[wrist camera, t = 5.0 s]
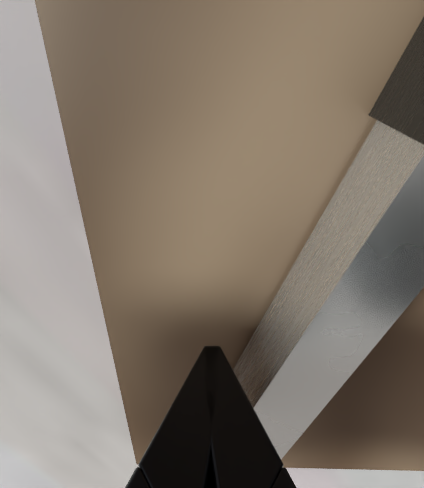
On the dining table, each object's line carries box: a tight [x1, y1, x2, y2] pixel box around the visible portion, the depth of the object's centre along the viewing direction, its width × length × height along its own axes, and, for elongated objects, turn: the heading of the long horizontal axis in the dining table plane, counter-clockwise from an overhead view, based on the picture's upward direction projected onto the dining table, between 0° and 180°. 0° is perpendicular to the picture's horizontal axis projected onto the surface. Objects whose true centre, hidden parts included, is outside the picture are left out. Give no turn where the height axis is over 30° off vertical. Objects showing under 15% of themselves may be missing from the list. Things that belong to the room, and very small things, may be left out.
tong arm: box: [233, 17, 424, 459], centre depth 7 cm, size 2×14×2 cm, turn 160°
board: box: [35, 0, 424, 471], centre depth 8 cm, size 15×20×1 cm
